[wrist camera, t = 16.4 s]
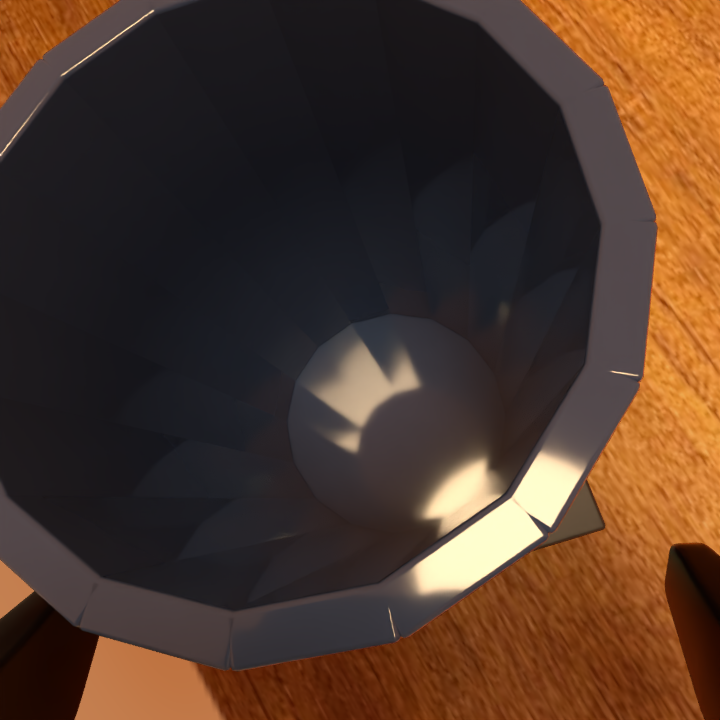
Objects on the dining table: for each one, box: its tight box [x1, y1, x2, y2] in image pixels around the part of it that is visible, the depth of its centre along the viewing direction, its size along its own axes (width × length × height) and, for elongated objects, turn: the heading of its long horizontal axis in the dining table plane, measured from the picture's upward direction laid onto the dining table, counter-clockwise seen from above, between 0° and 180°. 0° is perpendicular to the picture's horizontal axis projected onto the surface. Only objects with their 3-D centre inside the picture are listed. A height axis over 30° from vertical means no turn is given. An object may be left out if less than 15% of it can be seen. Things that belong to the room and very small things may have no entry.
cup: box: [0, 0, 658, 671], centre depth 11 cm, size 7×7×12 cm
